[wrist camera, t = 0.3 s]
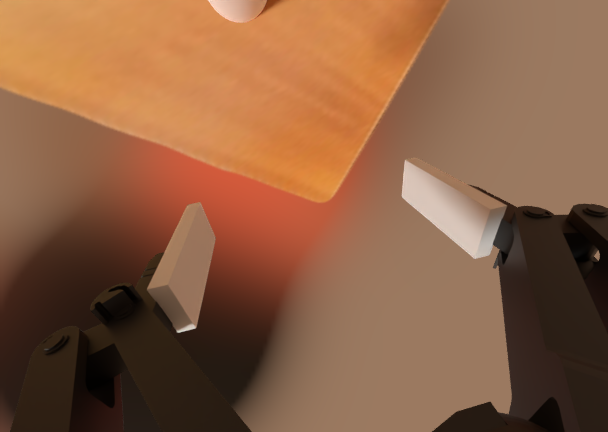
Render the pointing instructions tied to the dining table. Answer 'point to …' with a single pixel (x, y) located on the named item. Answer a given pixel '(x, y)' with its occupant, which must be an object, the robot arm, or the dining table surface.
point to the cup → (238, 9)
